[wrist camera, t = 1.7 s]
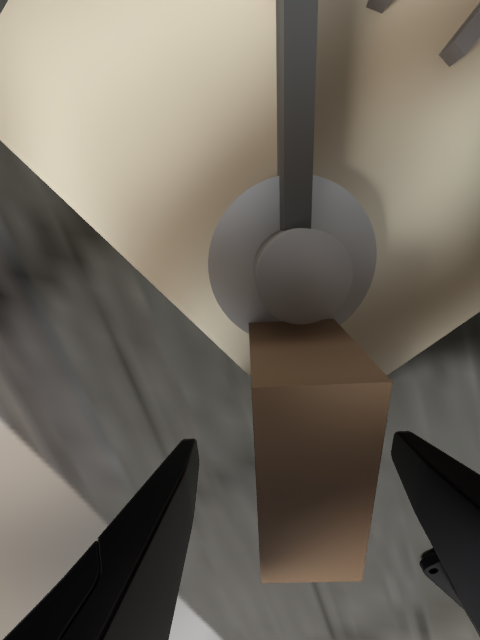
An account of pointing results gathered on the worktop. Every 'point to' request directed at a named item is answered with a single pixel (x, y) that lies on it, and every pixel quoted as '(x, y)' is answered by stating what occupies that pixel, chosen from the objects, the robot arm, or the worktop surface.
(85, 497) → the worktop surface
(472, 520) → the robot arm
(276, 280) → the gauge needle
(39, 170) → the dial board
